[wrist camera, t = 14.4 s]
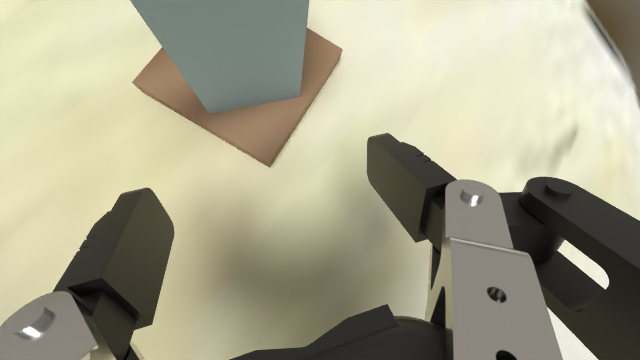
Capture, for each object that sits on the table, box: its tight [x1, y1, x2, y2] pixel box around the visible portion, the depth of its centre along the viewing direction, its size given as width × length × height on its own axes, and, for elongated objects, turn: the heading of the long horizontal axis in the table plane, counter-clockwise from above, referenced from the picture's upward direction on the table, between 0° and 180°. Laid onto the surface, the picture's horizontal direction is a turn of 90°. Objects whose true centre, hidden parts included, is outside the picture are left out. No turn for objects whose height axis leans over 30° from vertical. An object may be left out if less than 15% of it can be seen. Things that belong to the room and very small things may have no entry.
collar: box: [130, 0, 309, 114], centre depth 13 cm, size 6×6×9 cm
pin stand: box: [132, 28, 343, 167], centre depth 14 cm, size 10×10×8 cm
